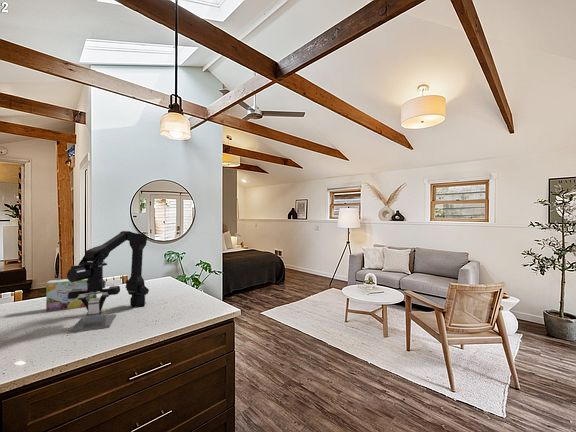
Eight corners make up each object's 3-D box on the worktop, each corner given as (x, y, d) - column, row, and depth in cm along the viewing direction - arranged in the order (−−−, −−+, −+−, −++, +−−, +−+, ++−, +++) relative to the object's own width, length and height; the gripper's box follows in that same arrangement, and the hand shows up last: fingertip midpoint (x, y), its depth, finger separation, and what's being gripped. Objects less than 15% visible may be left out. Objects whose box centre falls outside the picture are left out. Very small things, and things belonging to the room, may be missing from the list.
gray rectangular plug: (102, 318, 123) (102, 297, 123) (99, 322, 119) (99, 300, 119) (90, 320, 121) (90, 298, 121) (87, 323, 117) (87, 301, 117)
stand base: (116, 316, 129) (116, 304, 129) (109, 327, 116) (109, 314, 116) (81, 320, 124) (81, 307, 124) (70, 332, 111) (70, 319, 111)
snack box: (45, 312, 134) (45, 282, 134) (49, 308, 139) (49, 280, 139) (96, 305, 144) (96, 278, 143) (98, 302, 149) (98, 276, 148)
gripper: (122, 271, 131) (122, 302, 131) (76, 274, 124) (76, 307, 124) (117, 276, 121) (117, 310, 121) (67, 280, 113) (67, 316, 114)
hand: (95, 310), depth 120 cm, fingers closed on gray rectangular plug, 4 cm apart
